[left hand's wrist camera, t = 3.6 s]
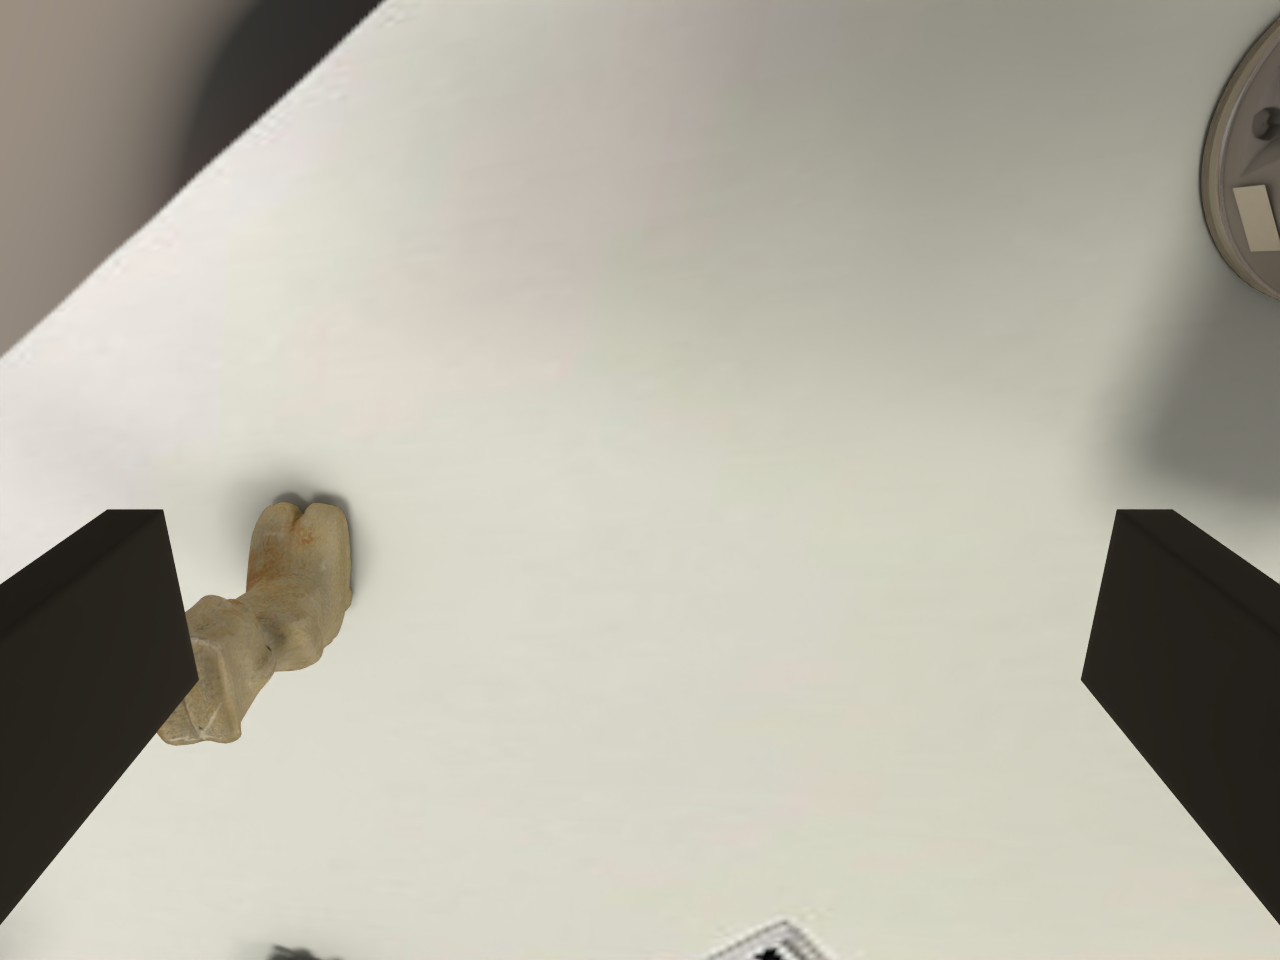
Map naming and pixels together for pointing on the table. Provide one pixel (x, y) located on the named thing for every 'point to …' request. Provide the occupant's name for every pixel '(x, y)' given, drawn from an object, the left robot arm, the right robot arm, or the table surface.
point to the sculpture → (265, 619)
